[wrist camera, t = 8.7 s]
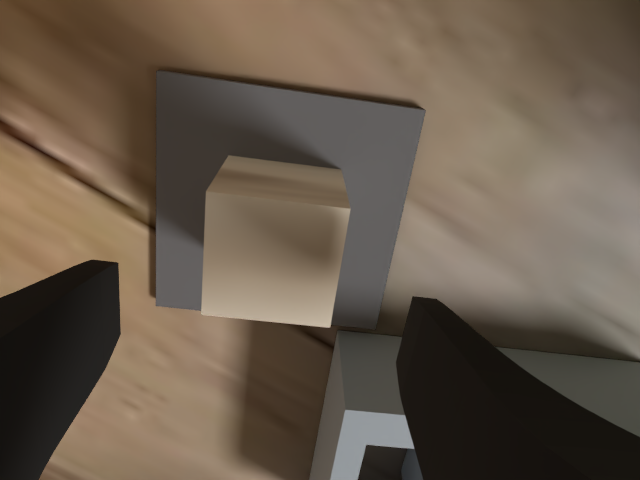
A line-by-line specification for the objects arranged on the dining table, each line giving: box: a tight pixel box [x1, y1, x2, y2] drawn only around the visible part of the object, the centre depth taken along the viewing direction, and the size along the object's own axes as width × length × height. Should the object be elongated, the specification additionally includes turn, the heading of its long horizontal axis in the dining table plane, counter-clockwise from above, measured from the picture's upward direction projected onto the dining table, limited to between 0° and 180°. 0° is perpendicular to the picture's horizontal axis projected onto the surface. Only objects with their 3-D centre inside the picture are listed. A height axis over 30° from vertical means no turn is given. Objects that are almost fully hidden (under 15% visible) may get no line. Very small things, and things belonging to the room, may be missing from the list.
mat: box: [156, 70, 426, 329], centre depth 18 cm, size 9×9×1 cm
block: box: [201, 155, 351, 328], centre depth 16 cm, size 4×4×4 cm
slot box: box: [309, 330, 640, 480], centre depth 21 cm, size 10×14×5 cm
